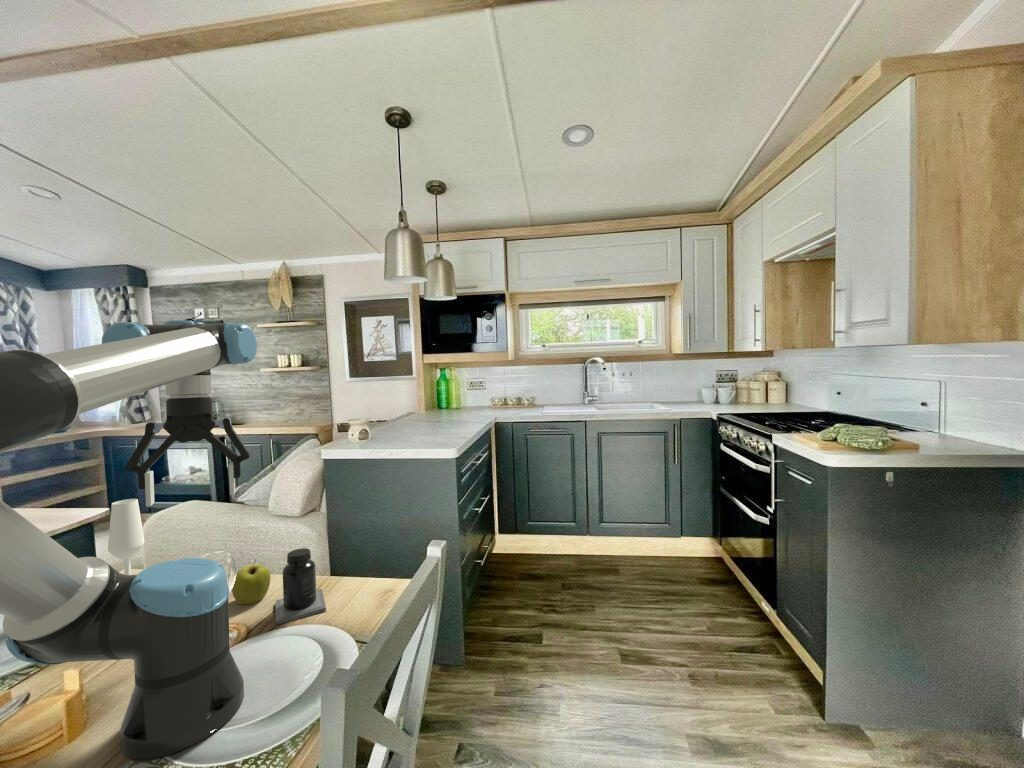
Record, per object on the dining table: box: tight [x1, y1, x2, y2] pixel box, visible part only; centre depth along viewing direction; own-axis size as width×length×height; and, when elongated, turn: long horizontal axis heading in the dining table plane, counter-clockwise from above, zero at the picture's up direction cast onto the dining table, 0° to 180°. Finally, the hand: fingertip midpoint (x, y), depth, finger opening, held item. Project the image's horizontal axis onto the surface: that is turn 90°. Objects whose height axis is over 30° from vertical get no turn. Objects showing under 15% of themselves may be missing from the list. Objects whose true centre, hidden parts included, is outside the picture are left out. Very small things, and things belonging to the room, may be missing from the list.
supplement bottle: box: [282, 548, 317, 610], centre depth 96 cm, size 7×7×12 cm
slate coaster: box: [274, 588, 327, 626], centre depth 96 cm, size 10×10×1 cm
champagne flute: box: [107, 498, 145, 575], centre depth 102 cm, size 7×7×24 cm
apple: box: [231, 558, 271, 606], centre depth 99 cm, size 8×8×10 cm
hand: (193, 499), depth 85 cm, fingers open, 13 cm apart
